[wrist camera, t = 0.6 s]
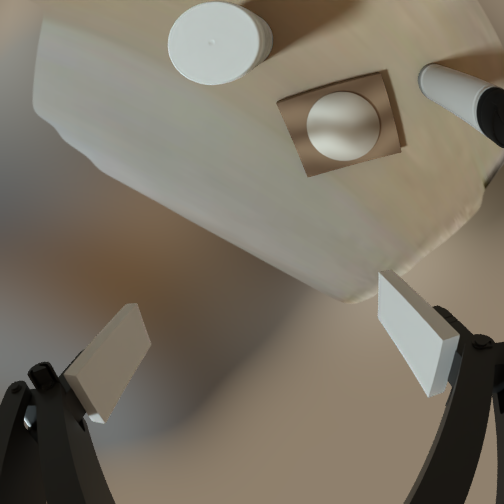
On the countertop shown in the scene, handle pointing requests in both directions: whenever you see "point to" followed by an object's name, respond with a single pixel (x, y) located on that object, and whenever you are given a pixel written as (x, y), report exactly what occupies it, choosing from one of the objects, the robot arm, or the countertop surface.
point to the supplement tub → (218, 42)
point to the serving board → (341, 124)
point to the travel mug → (466, 98)
